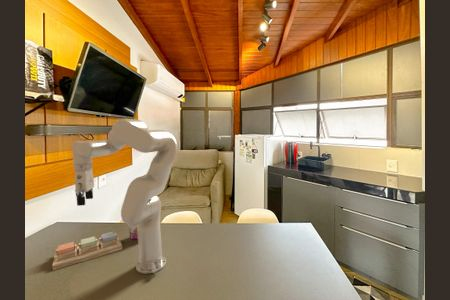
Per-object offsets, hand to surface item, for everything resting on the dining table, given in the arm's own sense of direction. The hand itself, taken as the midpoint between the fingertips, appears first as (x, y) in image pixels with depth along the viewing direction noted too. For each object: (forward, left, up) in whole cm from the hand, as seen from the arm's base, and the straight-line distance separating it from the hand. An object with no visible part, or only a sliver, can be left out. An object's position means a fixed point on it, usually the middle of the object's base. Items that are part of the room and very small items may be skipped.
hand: (85, 201), depth 107 cm
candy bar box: (+1, -25, -26) cm, 36 cm away
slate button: (+1, -9, -23) cm, 24 cm away
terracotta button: (+1, +9, -23) cm, 25 cm away
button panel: (+1, 0, -26) cm, 26 cm away
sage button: (+1, 0, -23) cm, 23 cm away
